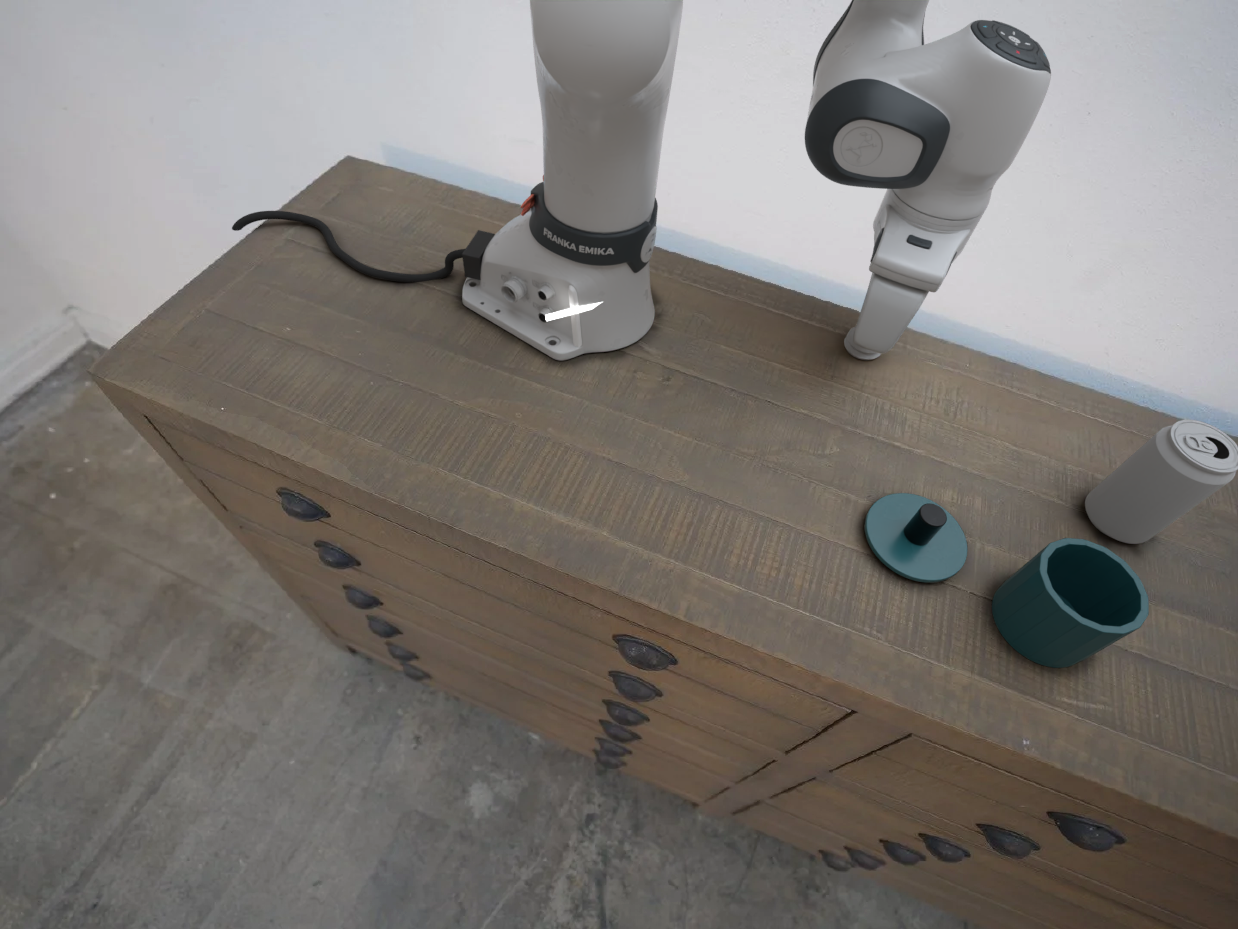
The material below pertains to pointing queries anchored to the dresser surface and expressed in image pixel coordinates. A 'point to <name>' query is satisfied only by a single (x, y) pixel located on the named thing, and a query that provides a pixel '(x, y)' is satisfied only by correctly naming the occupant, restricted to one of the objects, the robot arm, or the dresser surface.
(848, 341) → the rook chess piece
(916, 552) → the pot lid
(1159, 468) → the beverage can
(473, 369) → the dresser surface
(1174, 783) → the dresser surface
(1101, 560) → the pot
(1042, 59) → the robot arm
